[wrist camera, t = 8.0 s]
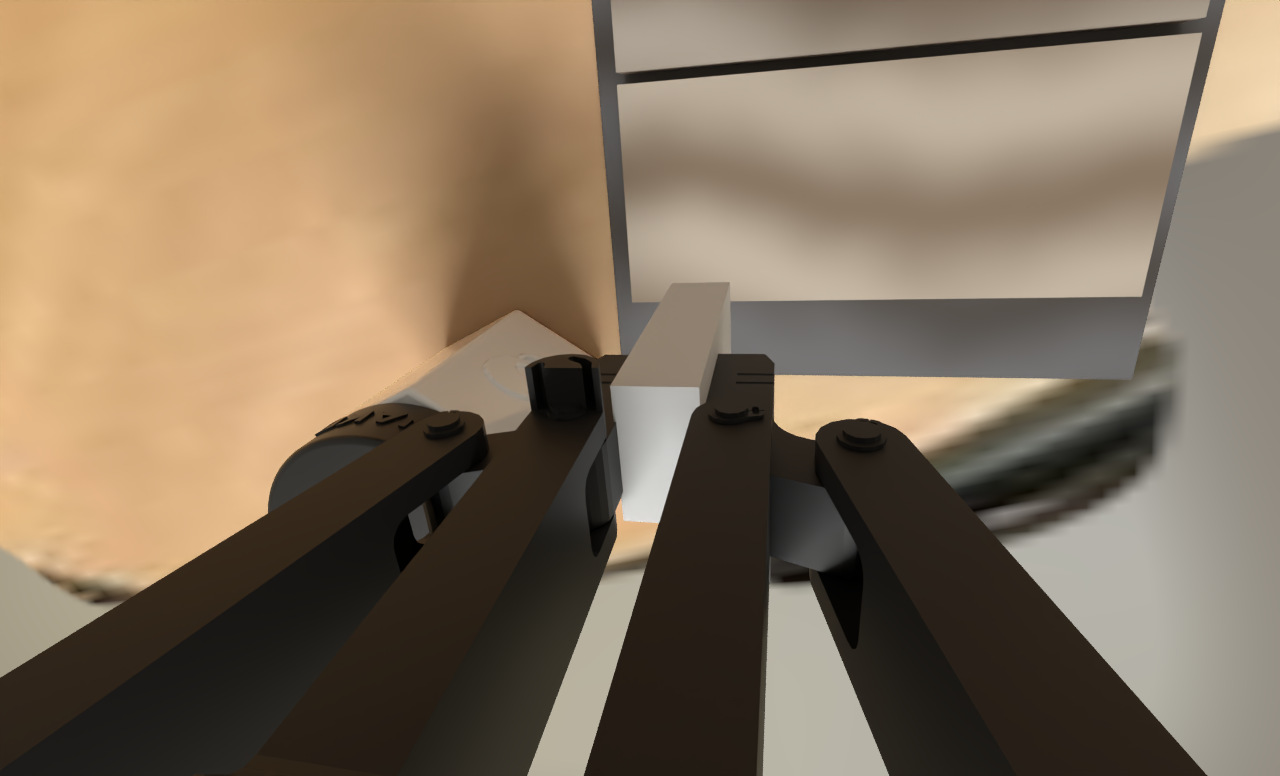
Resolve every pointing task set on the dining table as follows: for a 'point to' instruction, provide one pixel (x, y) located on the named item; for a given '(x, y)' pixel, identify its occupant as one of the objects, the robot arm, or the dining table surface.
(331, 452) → the jar
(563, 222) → the dining table surface
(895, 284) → the plank
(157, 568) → the dining table surface
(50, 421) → the dining table surface
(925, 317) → the grey flat panel
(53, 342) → the dining table surface
